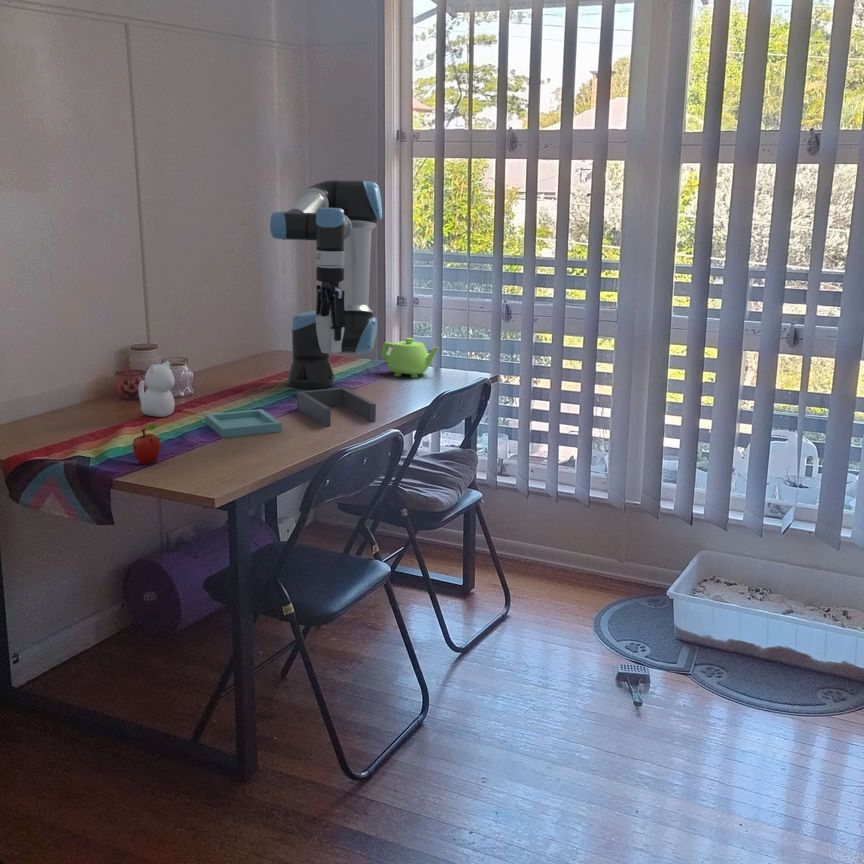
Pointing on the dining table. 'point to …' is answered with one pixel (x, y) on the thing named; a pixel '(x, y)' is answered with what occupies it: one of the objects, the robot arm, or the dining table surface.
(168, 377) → the cat figurine
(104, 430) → the dining table surface
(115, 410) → the dining table surface
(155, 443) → the apple
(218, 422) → the tray
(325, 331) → the cup
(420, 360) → the teapot
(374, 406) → the bay
